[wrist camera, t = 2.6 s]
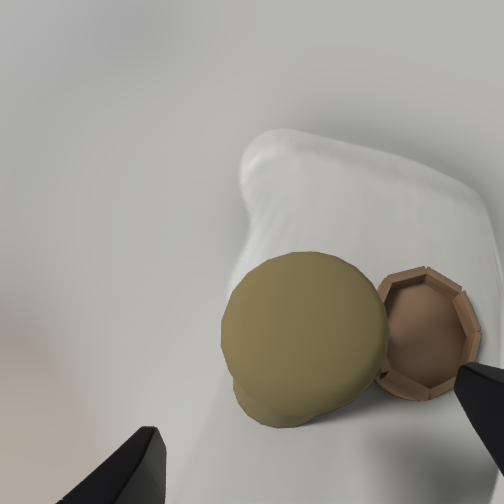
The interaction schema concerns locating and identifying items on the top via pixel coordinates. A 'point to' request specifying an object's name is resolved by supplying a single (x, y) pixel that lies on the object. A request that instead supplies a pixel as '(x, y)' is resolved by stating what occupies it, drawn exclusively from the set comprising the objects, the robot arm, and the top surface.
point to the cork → (302, 337)
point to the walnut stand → (425, 333)
